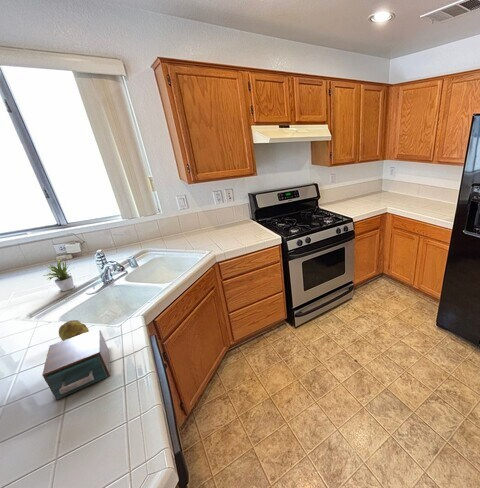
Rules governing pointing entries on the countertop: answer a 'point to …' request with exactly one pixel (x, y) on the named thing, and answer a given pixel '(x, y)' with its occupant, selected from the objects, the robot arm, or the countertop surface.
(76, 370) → the drawer
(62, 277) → the house plant
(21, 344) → the countertop surface
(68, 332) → the potato
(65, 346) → the cabinet
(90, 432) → the countertop surface
